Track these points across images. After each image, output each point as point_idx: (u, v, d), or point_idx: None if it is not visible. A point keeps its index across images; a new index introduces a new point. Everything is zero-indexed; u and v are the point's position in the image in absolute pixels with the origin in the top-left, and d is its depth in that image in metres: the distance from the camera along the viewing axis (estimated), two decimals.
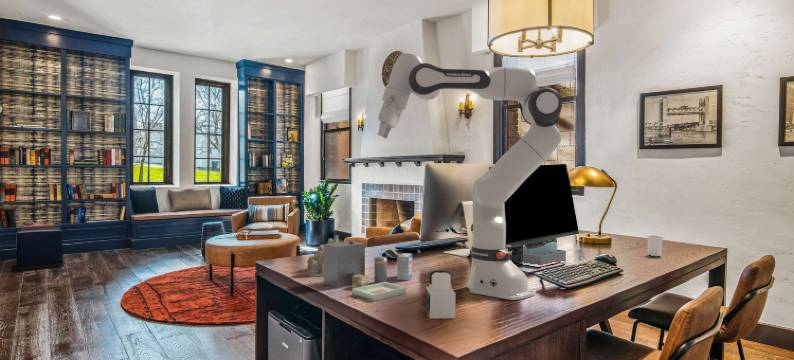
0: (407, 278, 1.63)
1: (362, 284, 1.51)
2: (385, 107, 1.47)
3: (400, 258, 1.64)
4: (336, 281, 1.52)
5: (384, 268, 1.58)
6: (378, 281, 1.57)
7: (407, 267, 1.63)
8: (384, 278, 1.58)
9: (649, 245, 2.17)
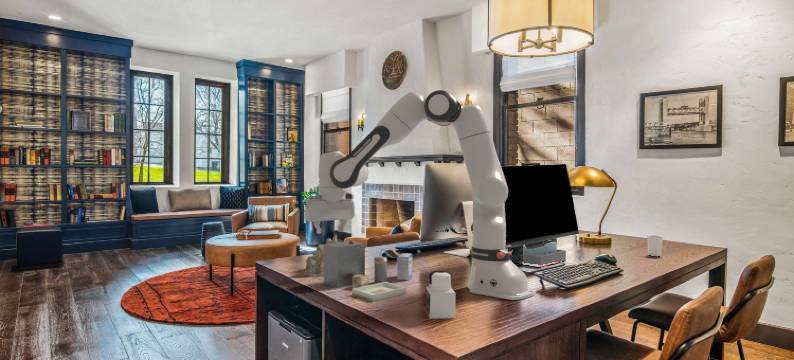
0: (407, 278, 1.63)
1: (362, 284, 1.51)
2: (306, 208, 1.58)
3: (400, 258, 1.64)
4: (336, 281, 1.52)
5: (384, 268, 1.58)
6: (378, 281, 1.57)
7: (407, 267, 1.63)
8: (384, 278, 1.58)
9: (649, 245, 2.17)
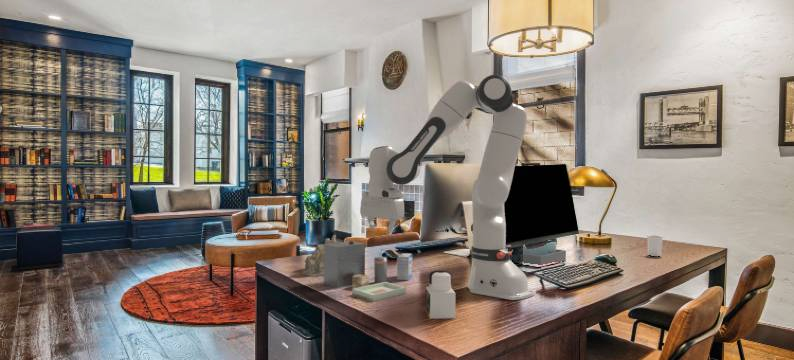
0: (407, 278, 1.63)
1: (362, 284, 1.51)
2: None
3: (400, 258, 1.64)
4: (336, 281, 1.52)
5: (384, 268, 1.58)
6: (378, 281, 1.57)
7: (407, 267, 1.63)
8: (384, 278, 1.58)
9: (649, 245, 2.17)
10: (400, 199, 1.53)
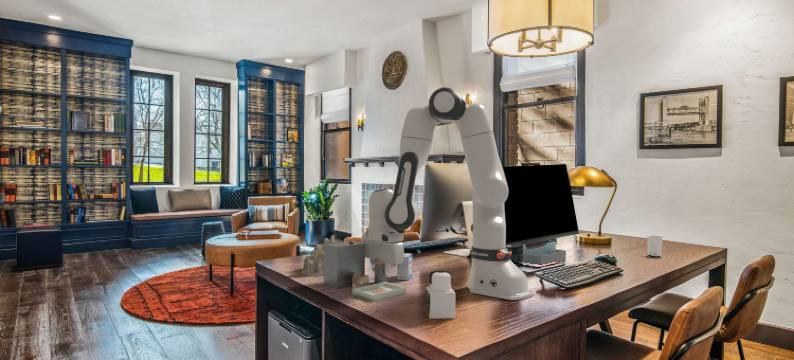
0: (407, 278, 1.63)
1: (362, 284, 1.51)
2: None
3: None
4: (336, 281, 1.52)
5: (384, 268, 1.58)
6: (378, 281, 1.57)
7: (407, 267, 1.63)
8: (384, 278, 1.58)
9: (649, 245, 2.17)
10: (399, 243, 1.53)
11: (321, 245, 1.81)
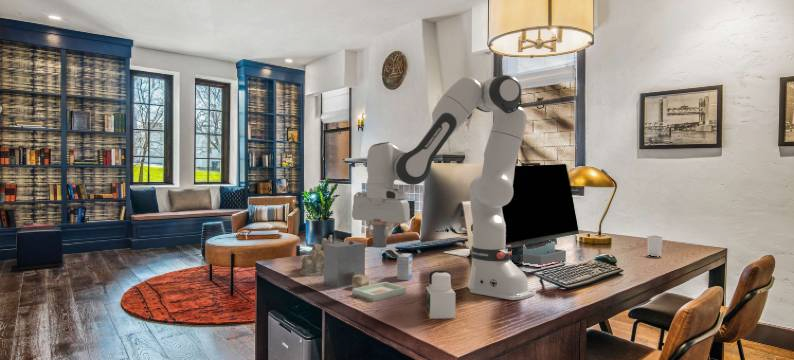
0: (407, 278, 1.63)
1: (362, 284, 1.51)
2: None
3: (400, 258, 1.64)
4: (336, 281, 1.52)
5: (385, 229, 1.43)
6: (379, 244, 1.42)
7: (407, 267, 1.63)
8: (385, 240, 1.43)
9: (649, 245, 2.17)
10: (405, 200, 1.41)
11: (319, 245, 1.81)
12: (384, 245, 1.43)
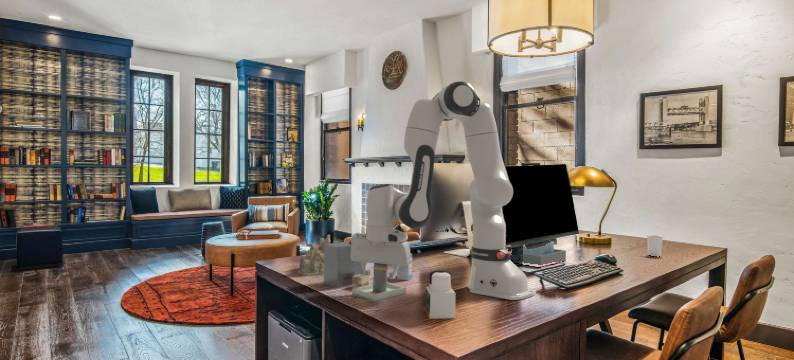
0: (407, 278, 1.63)
1: (362, 284, 1.51)
2: None
3: None
4: (336, 281, 1.52)
5: (386, 275, 1.43)
6: (380, 290, 1.42)
7: (407, 267, 1.63)
8: (385, 286, 1.44)
9: (649, 245, 2.17)
10: (406, 242, 1.42)
11: (317, 245, 1.81)
12: (385, 290, 1.43)
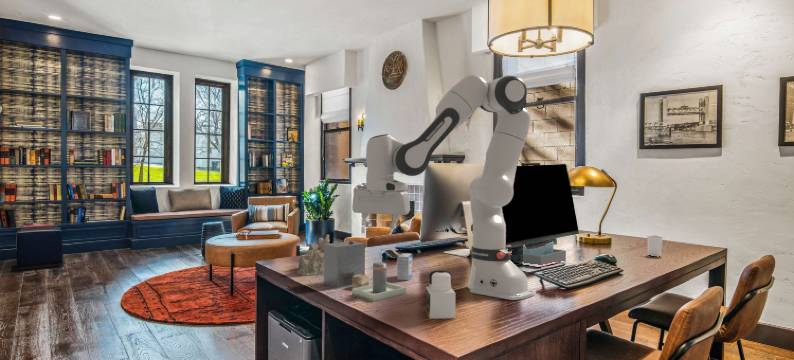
0: (407, 278, 1.63)
1: (362, 284, 1.51)
2: None
3: (400, 258, 1.64)
4: (336, 281, 1.52)
5: (385, 275, 1.44)
6: (380, 289, 1.42)
7: (407, 267, 1.63)
8: (385, 285, 1.44)
9: (649, 245, 2.17)
10: (405, 192, 1.41)
11: (316, 245, 1.82)
12: (384, 290, 1.43)
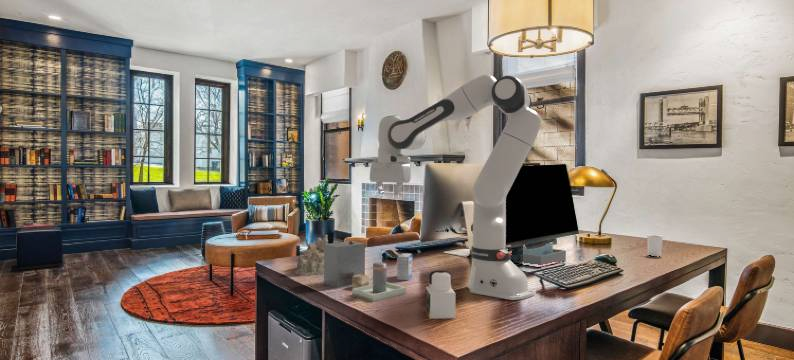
0: (407, 278, 1.63)
1: (362, 284, 1.51)
2: None
3: (400, 258, 1.64)
4: (336, 281, 1.52)
5: (385, 275, 1.44)
6: (380, 289, 1.42)
7: (407, 267, 1.63)
8: (385, 285, 1.44)
9: (649, 245, 2.17)
10: (407, 164, 1.66)
11: (314, 245, 1.82)
12: (384, 290, 1.43)
